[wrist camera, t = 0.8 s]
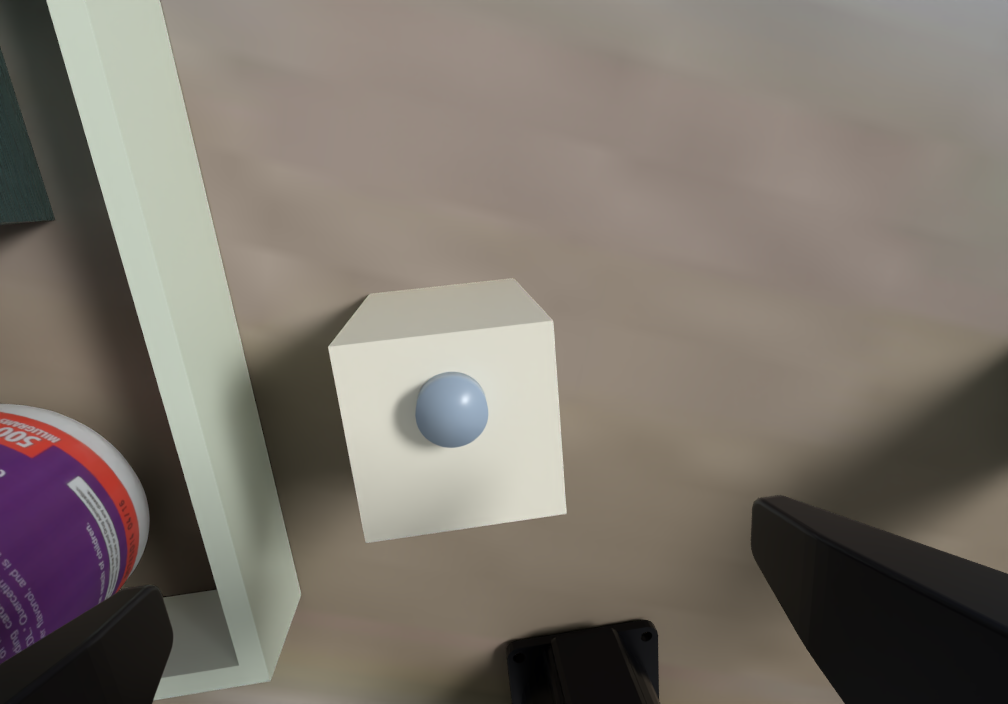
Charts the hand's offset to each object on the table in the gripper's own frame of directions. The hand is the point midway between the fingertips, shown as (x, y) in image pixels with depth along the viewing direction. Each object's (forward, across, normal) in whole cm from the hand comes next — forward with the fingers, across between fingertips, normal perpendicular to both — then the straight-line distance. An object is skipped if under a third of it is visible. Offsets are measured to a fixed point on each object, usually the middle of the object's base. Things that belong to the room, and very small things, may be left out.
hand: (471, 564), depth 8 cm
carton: (+12, 0, 0) cm, 12 cm away
